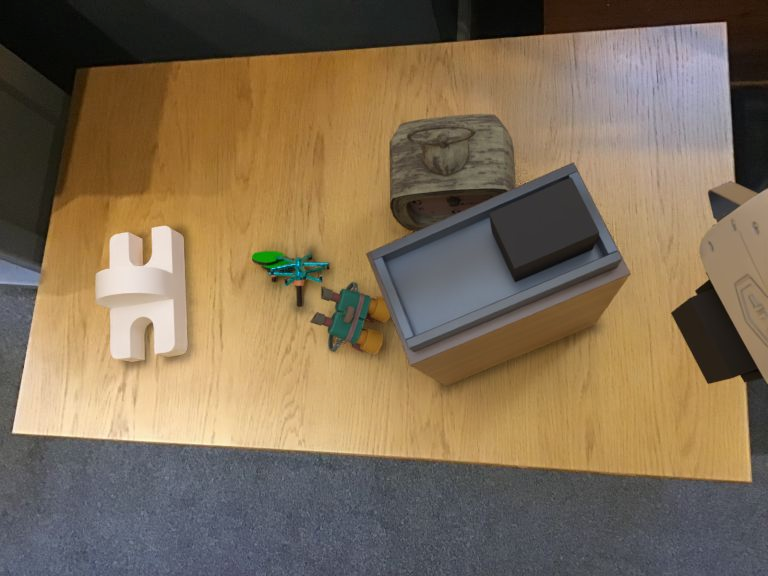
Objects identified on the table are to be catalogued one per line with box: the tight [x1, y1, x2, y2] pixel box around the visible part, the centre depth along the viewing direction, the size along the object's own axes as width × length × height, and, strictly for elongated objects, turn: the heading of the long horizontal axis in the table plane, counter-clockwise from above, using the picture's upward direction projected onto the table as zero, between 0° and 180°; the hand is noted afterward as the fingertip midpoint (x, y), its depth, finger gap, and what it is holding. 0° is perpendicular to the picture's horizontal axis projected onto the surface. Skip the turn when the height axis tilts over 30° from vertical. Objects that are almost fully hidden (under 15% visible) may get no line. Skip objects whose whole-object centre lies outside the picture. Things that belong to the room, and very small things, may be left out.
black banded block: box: [670, 288, 758, 385], centre depth 39 cm, size 5×7×5 cm
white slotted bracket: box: [94, 225, 189, 363], centre depth 89 cm, size 10×18×10 cm, turn 6°
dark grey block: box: [489, 178, 599, 282], centre depth 53 cm, size 5×7×5 cm
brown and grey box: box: [365, 162, 631, 387], centre depth 69 cm, size 11×20×31 cm, turn 111°
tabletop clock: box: [388, 113, 517, 232], centre depth 76 cm, size 14×9×25 cm, turn 90°
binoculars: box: [309, 281, 391, 355], centre depth 83 cm, size 9×9×10 cm
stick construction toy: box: [251, 250, 330, 308], centre depth 89 cm, size 12×7×8 cm
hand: (743, 326), depth 41 cm, fingers closed on black banded block, 5 cm apart
